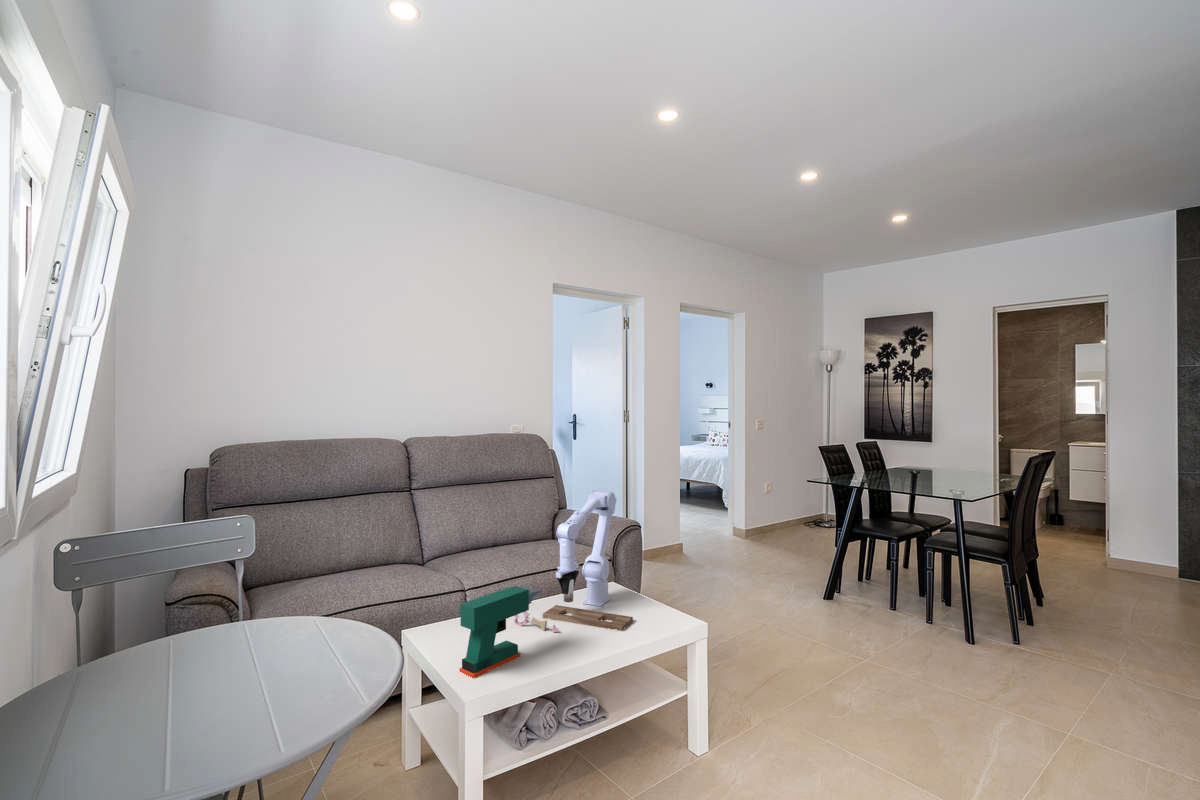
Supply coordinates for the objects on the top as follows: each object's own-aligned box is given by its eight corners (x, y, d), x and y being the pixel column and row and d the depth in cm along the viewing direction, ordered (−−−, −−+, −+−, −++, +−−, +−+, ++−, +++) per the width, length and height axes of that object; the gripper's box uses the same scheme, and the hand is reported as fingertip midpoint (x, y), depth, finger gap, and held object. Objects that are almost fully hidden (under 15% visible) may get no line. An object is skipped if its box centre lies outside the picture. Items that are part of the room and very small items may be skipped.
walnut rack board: (556, 608, 221) (555, 605, 221) (632, 621, 208) (632, 616, 208) (542, 617, 212) (542, 613, 212) (622, 630, 199) (622, 626, 199)
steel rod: (567, 598, 216) (567, 577, 216) (575, 600, 214) (575, 578, 214) (561, 601, 213) (562, 579, 213) (569, 602, 211) (570, 581, 211)
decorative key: (558, 642, 197) (512, 623, 206) (560, 641, 198) (514, 622, 207) (560, 623, 196) (514, 605, 206) (562, 622, 197) (516, 604, 207)
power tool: (535, 637, 194) (535, 578, 194) (550, 642, 190) (550, 582, 190) (458, 671, 169) (457, 603, 170) (473, 678, 165) (472, 608, 165)
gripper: (567, 550, 222) (567, 585, 222) (548, 559, 209) (548, 596, 209) (583, 552, 219) (583, 587, 219) (565, 561, 206) (565, 599, 206)
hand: (567, 592), depth 214 cm, fingers closed on steel rod, 4 cm apart
